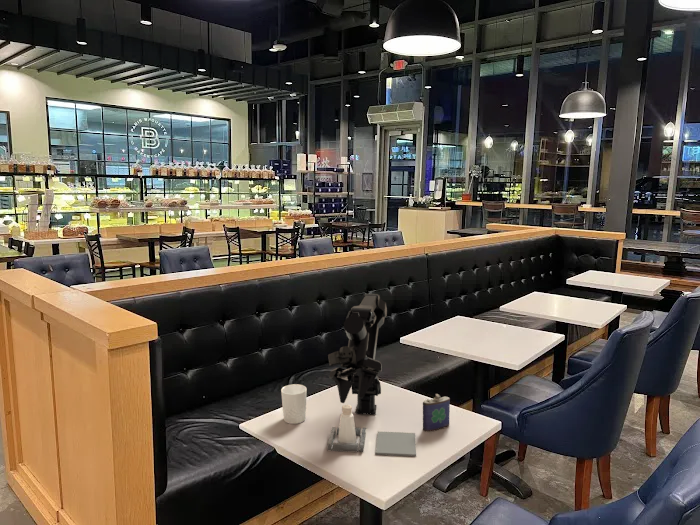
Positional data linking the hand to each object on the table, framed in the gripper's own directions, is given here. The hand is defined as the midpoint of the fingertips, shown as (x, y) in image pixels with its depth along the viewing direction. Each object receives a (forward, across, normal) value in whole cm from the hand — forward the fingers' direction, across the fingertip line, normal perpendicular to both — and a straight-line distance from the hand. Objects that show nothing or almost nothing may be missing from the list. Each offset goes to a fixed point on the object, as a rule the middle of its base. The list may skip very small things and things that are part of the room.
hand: (351, 400), depth 145 cm
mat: (+8, -1, +17) cm, 19 cm away
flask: (+1, 0, +32) cm, 32 cm away
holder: (+9, -9, +6) cm, 14 cm away
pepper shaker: (+9, -9, +6) cm, 15 cm away
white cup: (+2, -29, -2) cm, 29 cm away
